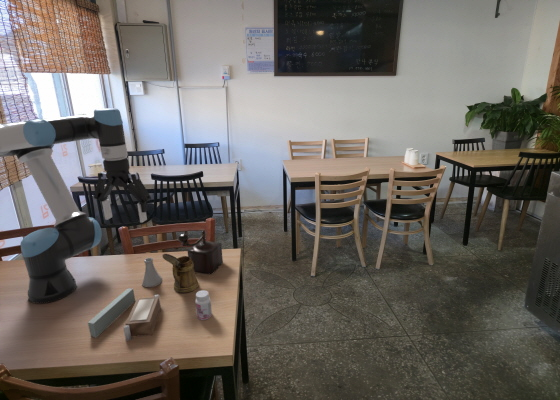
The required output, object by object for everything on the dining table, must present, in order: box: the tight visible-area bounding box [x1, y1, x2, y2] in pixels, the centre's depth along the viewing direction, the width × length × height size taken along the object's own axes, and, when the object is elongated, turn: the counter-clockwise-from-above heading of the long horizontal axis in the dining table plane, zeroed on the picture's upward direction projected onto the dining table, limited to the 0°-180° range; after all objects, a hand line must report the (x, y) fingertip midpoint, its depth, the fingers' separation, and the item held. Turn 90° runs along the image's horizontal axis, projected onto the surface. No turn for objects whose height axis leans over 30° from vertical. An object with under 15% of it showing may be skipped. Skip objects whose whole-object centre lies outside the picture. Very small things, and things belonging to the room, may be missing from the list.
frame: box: [124, 296, 161, 338], centre depth 111 cm, size 7×13×5 cm, turn 6°
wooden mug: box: [161, 253, 199, 294], centre depth 127 cm, size 9×14×18 cm, turn 160°
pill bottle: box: [195, 290, 213, 321], centre depth 113 cm, size 5×5×8 cm
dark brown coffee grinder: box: [177, 229, 224, 275], centre depth 140 cm, size 16×11×18 cm
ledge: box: [87, 287, 161, 341], centre depth 113 cm, size 13×19×5 cm
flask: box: [141, 257, 163, 288], centre depth 133 cm, size 7×7×10 cm
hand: (126, 219), depth 119 cm, fingers open, 13 cm apart
